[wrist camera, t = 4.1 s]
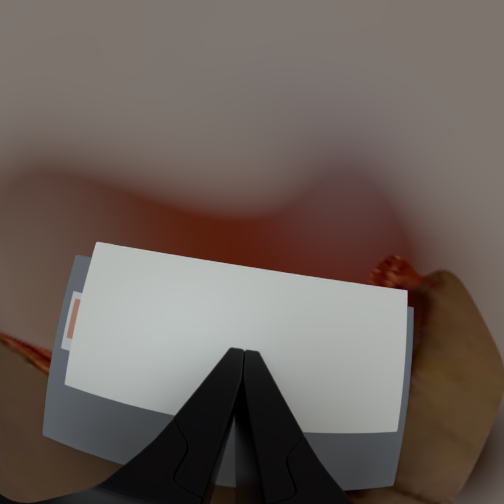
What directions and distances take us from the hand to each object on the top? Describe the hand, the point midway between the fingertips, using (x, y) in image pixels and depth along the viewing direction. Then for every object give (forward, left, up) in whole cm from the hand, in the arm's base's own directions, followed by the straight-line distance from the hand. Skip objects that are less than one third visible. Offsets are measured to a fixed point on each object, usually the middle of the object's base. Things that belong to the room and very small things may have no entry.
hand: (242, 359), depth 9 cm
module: (0, -1, -8) cm, 8 cm away
